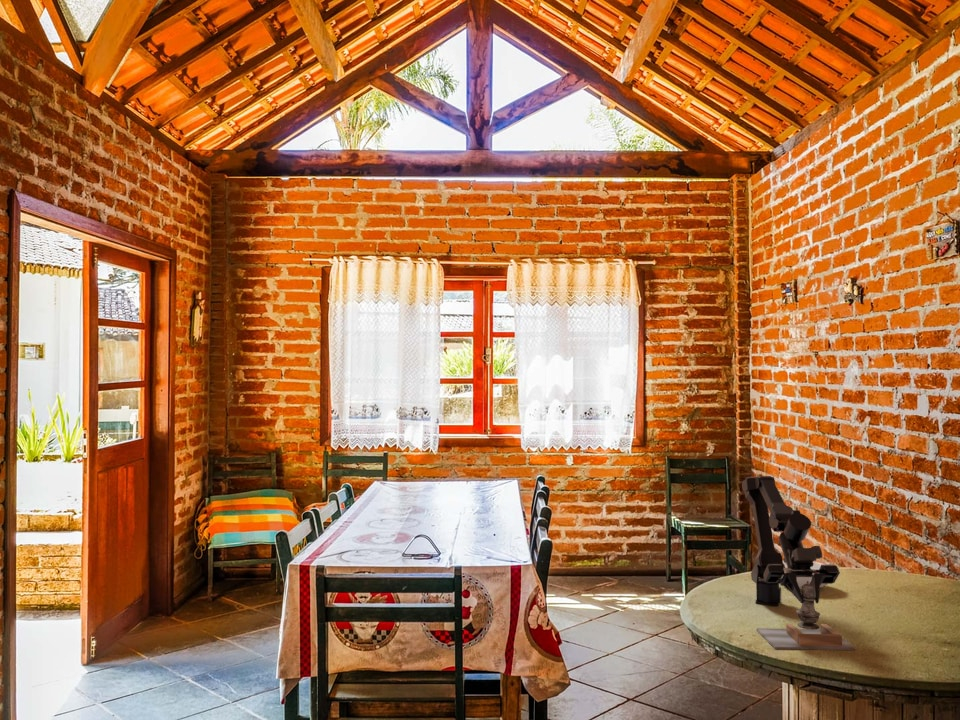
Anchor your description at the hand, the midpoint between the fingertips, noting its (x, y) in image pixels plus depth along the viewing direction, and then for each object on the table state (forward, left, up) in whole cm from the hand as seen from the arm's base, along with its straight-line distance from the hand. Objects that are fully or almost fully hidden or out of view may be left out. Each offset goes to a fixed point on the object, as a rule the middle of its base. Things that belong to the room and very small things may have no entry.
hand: (810, 602), depth 195 cm
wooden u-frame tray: (-2, -2, -10) cm, 10 cm away
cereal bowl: (-7, +53, -10) cm, 55 cm away
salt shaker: (-1, +1, -7) cm, 7 cm away
